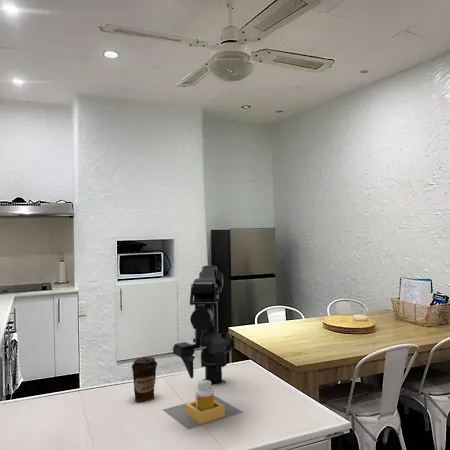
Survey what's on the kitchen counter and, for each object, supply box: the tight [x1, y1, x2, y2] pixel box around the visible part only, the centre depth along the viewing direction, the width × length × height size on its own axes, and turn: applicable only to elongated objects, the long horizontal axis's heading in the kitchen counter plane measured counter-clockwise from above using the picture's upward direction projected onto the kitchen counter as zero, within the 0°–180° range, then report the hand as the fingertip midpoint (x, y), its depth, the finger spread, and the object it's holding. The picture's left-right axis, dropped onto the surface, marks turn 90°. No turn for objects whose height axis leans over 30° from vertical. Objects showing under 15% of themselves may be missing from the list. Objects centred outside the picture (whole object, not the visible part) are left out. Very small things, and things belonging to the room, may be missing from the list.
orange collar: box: [184, 400, 225, 424], centre depth 123 cm, size 8×8×3 cm
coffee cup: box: [131, 356, 158, 403], centre depth 137 cm, size 9×8×13 cm
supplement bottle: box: [195, 379, 215, 411], centre depth 123 cm, size 5×5×10 cm
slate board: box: [162, 395, 243, 430], centre depth 126 cm, size 16×19×1 cm
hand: (205, 374), depth 123 cm, fingers open, 9 cm apart
